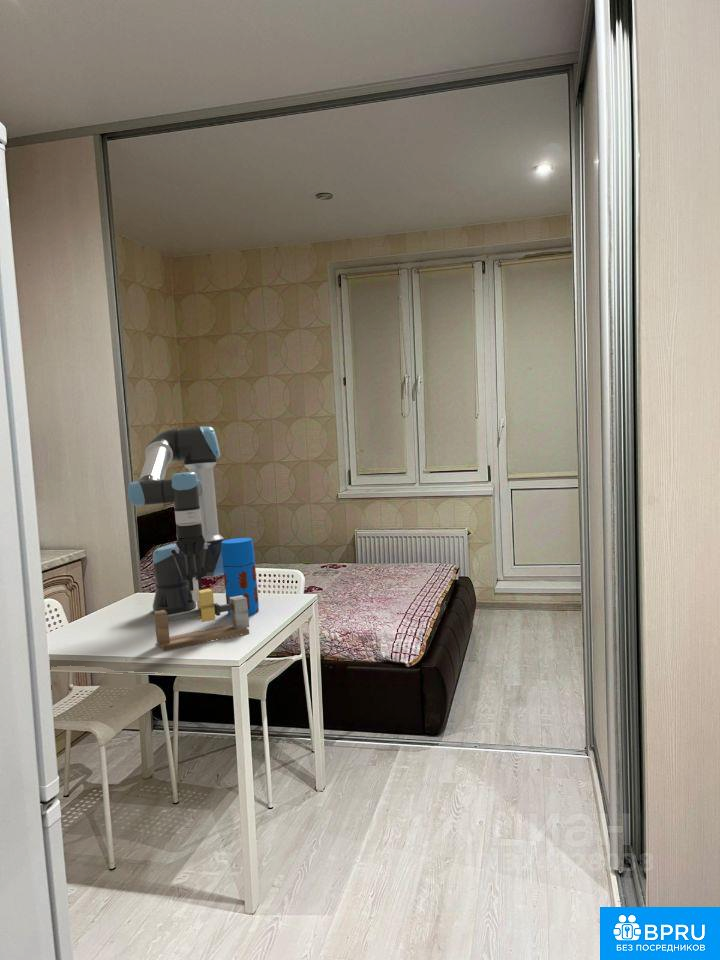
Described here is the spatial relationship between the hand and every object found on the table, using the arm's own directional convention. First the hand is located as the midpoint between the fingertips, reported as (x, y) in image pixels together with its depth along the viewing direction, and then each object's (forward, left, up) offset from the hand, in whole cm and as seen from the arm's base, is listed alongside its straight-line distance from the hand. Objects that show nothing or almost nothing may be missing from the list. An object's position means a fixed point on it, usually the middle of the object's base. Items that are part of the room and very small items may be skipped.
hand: (196, 600), depth 228 cm
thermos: (-22, +21, -12) cm, 33 cm away
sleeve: (0, +3, -6) cm, 7 cm away
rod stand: (0, +1, -12) cm, 12 cm away
